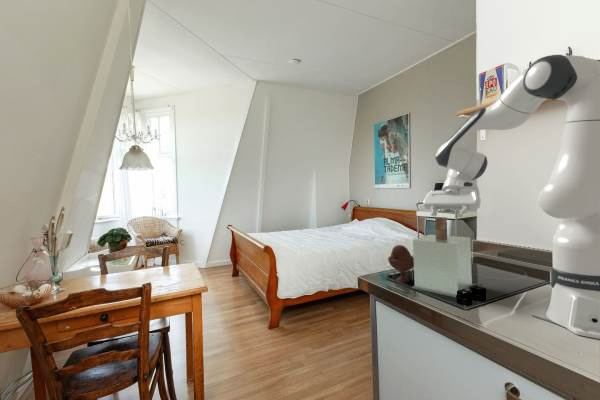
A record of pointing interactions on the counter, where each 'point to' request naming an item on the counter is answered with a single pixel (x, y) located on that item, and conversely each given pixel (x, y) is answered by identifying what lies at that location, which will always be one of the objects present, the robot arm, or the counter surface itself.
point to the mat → (433, 291)
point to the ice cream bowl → (401, 261)
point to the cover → (442, 261)
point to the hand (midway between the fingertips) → (446, 215)
